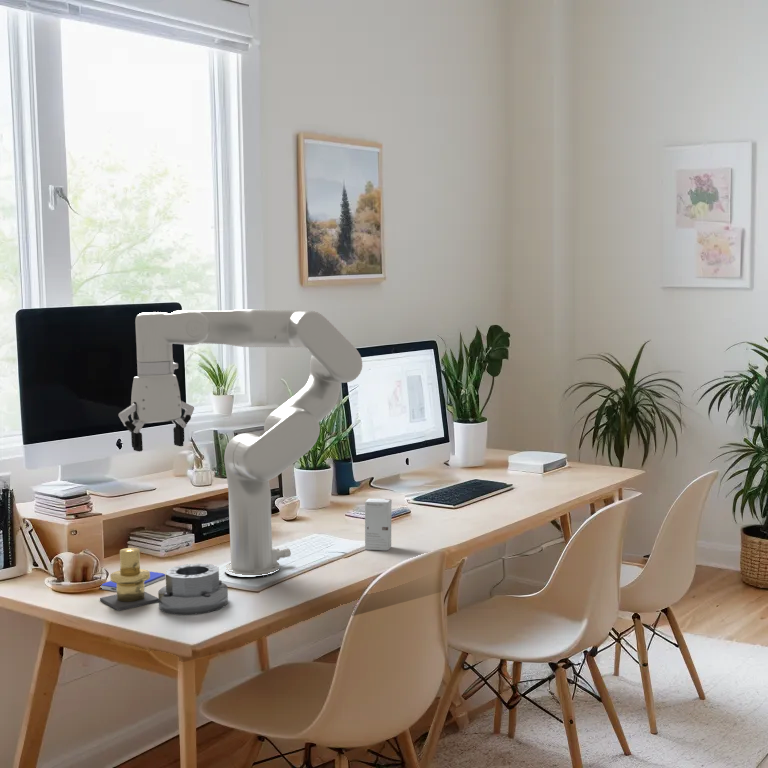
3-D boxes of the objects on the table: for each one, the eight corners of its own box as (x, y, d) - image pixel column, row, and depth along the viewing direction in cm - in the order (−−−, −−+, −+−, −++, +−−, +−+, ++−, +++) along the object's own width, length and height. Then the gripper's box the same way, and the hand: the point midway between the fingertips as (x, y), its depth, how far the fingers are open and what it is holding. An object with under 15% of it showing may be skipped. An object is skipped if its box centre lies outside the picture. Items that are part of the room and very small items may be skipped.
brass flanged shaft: (139, 590, 217) (138, 543, 216) (157, 598, 211) (156, 550, 210) (104, 597, 212) (103, 549, 211) (121, 605, 206) (120, 556, 205)
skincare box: (364, 550, 249) (363, 501, 248) (368, 545, 253) (367, 497, 252) (389, 551, 247) (388, 502, 246) (392, 546, 252) (391, 498, 251)
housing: (207, 589, 218) (205, 557, 217) (240, 604, 207) (239, 571, 207) (147, 603, 209) (145, 570, 209) (178, 619, 198) (177, 584, 198)
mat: (140, 592, 217) (139, 589, 217) (159, 601, 210) (159, 598, 210) (100, 600, 212) (99, 597, 212) (118, 610, 205) (118, 607, 205)
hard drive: (137, 569, 232) (98, 584, 221) (165, 573, 228) (127, 588, 217) (137, 576, 232) (99, 591, 221) (165, 580, 228) (128, 595, 217)
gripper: (183, 366, 227) (186, 442, 228) (110, 371, 216) (113, 451, 217) (199, 367, 221) (202, 445, 222) (125, 373, 210) (128, 454, 212)
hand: (158, 448), depth 220 cm, fingers open, 9 cm apart
